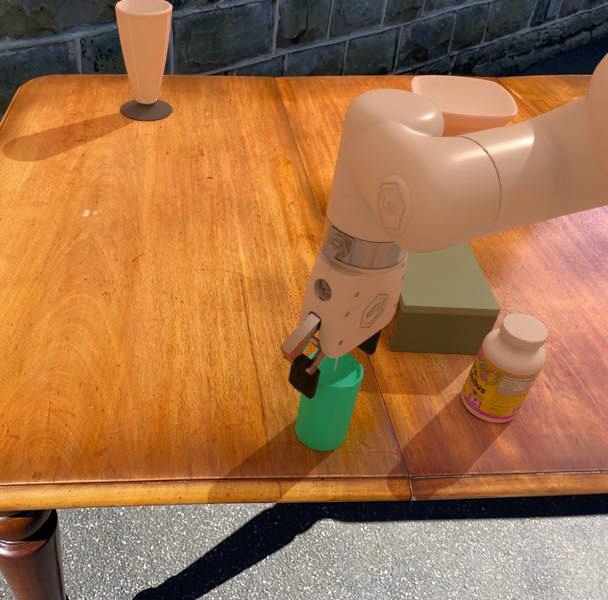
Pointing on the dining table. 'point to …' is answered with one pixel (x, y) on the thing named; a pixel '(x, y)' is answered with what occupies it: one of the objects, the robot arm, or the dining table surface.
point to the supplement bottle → (505, 368)
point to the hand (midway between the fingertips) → (332, 367)
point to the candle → (330, 403)
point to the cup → (144, 54)
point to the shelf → (444, 304)
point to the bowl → (467, 102)
